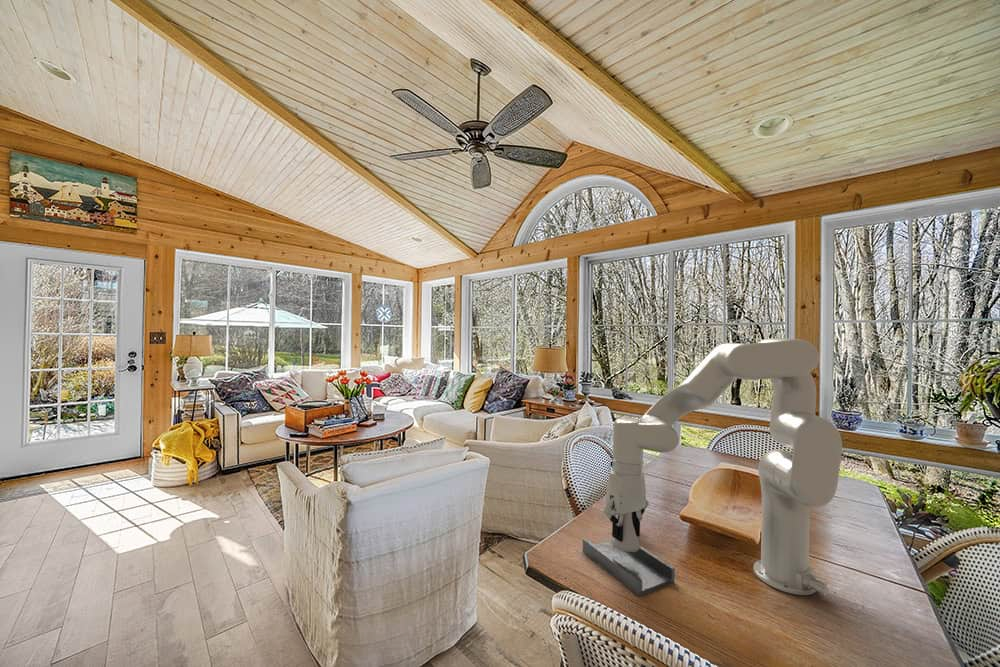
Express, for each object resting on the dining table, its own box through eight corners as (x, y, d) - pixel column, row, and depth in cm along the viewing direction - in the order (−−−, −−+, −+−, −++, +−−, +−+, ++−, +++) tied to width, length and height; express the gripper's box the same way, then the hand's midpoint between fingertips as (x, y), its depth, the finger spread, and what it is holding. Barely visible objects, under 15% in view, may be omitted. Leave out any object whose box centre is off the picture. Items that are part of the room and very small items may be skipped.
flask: (641, 542, 102) (642, 504, 102) (639, 556, 95) (639, 515, 95) (613, 535, 105) (614, 498, 105) (609, 548, 98) (609, 509, 98)
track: (674, 582, 94) (674, 567, 94) (638, 596, 88) (639, 581, 88) (615, 542, 111) (615, 529, 111) (582, 551, 106) (582, 539, 106)
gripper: (640, 458, 107) (638, 523, 107) (592, 466, 99) (590, 536, 99) (662, 466, 100) (660, 536, 100) (612, 476, 93) (611, 551, 93)
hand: (625, 535), depth 100 cm, fingers closed on flask, 5 cm apart
